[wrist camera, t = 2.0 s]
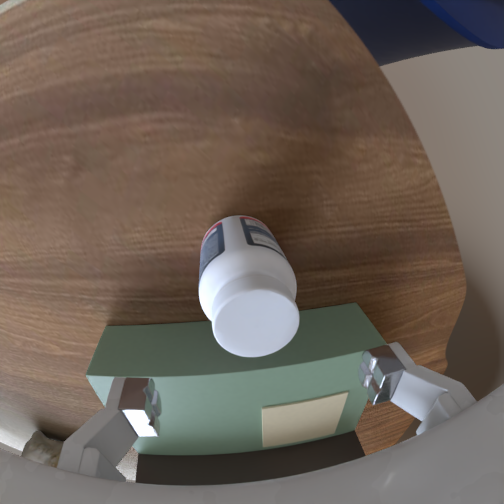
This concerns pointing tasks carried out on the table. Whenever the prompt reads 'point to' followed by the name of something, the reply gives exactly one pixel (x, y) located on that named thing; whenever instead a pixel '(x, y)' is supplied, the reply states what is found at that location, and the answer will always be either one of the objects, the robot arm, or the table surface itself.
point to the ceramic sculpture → (43, 449)
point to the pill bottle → (247, 287)
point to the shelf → (243, 398)
